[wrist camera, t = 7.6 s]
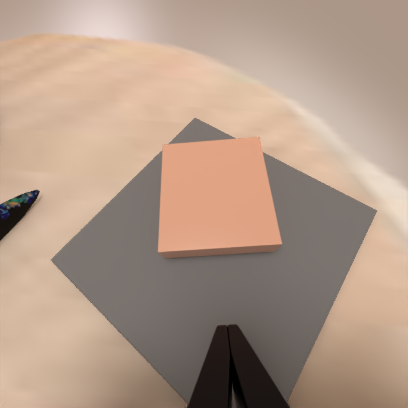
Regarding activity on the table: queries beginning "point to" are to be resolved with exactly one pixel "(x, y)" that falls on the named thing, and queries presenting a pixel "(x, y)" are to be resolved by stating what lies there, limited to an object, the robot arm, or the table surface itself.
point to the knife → (15, 210)
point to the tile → (216, 200)
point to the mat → (218, 274)
